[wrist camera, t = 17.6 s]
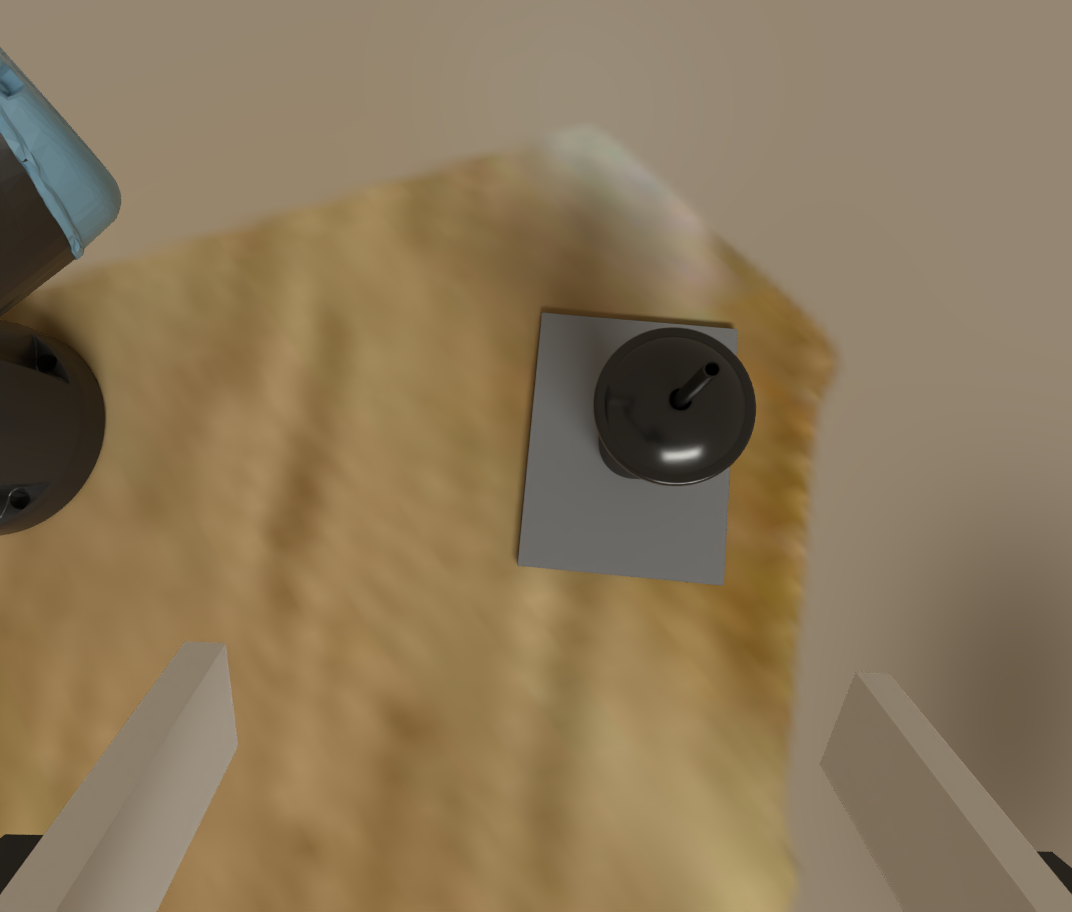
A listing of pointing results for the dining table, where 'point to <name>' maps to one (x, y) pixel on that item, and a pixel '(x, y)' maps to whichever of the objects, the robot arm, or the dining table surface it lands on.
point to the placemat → (608, 473)
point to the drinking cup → (673, 407)
